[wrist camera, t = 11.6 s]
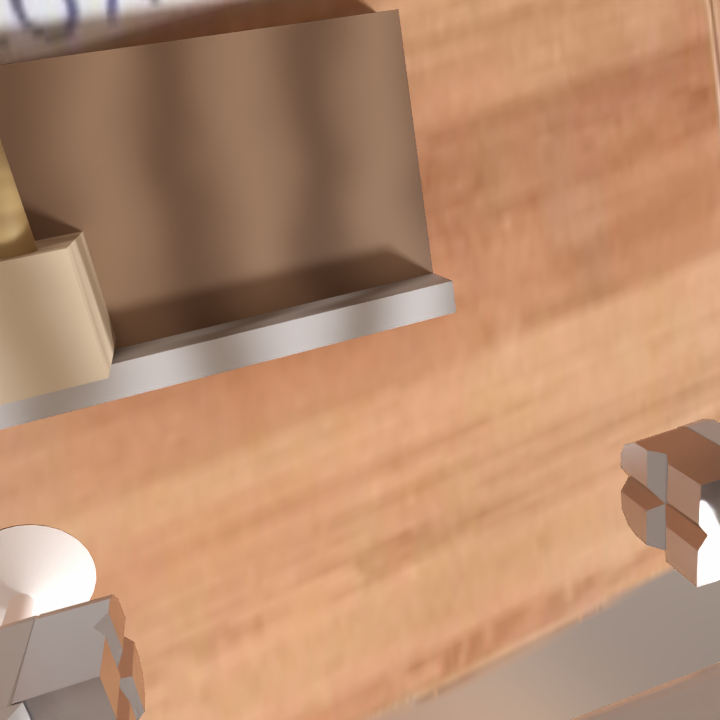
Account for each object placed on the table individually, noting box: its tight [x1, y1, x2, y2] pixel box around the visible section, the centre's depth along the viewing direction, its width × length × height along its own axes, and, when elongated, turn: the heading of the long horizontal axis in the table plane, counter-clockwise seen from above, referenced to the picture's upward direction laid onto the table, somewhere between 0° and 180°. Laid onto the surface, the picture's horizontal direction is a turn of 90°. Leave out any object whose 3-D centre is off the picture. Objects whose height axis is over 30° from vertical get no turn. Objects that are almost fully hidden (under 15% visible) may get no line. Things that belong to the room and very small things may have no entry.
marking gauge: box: [0, 140, 116, 405], centre depth 26 cm, size 4×9×6 cm, turn 10°
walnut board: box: [0, 9, 456, 430], centre depth 30 cm, size 22×14×4 cm, turn 99°
